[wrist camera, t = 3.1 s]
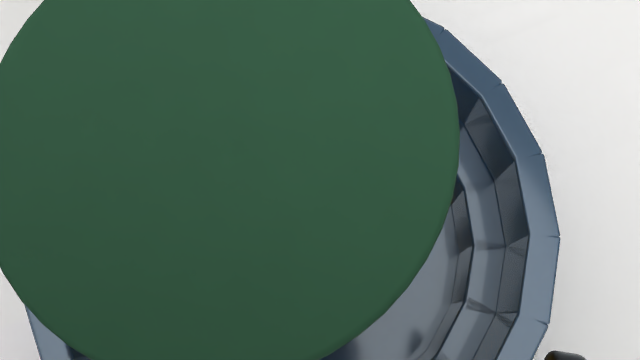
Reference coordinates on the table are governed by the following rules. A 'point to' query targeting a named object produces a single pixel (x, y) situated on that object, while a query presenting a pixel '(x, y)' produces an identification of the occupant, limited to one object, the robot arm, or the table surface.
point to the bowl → (464, 243)
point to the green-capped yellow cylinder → (221, 172)
